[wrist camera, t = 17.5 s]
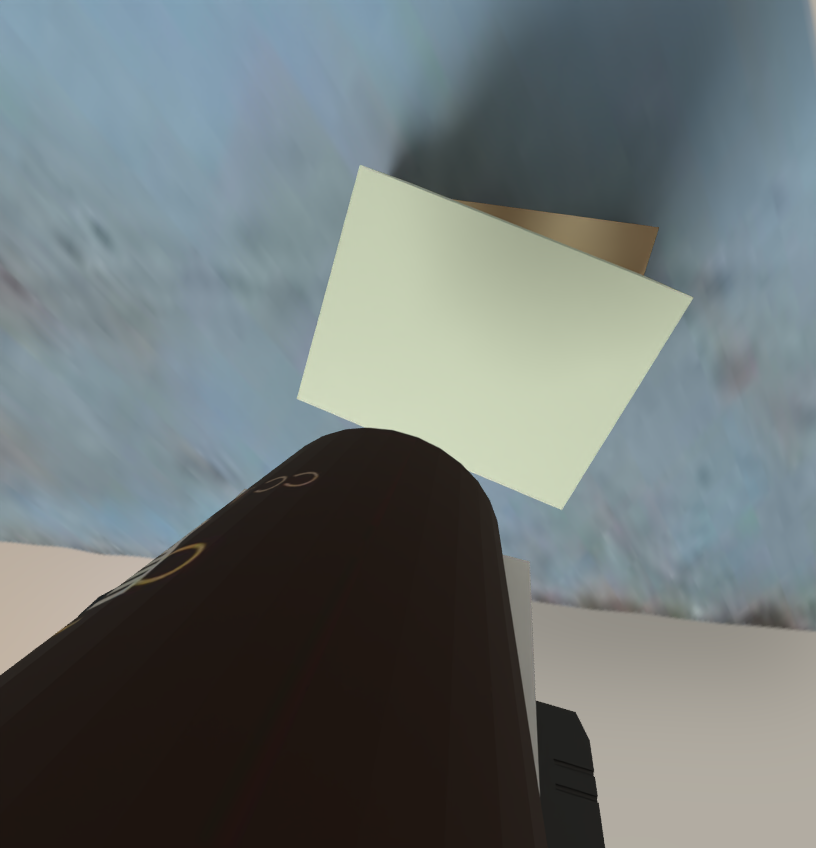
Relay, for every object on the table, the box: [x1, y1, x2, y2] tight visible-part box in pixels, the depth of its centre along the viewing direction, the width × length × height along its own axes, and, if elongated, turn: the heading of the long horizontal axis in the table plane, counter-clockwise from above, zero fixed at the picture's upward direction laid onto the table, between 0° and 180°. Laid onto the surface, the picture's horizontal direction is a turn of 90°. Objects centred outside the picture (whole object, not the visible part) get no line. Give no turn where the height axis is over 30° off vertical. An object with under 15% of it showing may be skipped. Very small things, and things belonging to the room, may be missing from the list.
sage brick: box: [297, 165, 693, 510], centre depth 23 cm, size 13×10×8 cm
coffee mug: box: [0, 428, 548, 848], centre depth 9 cm, size 12×9×10 cm
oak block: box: [452, 199, 659, 276], centre depth 29 cm, size 15×12×4 cm
